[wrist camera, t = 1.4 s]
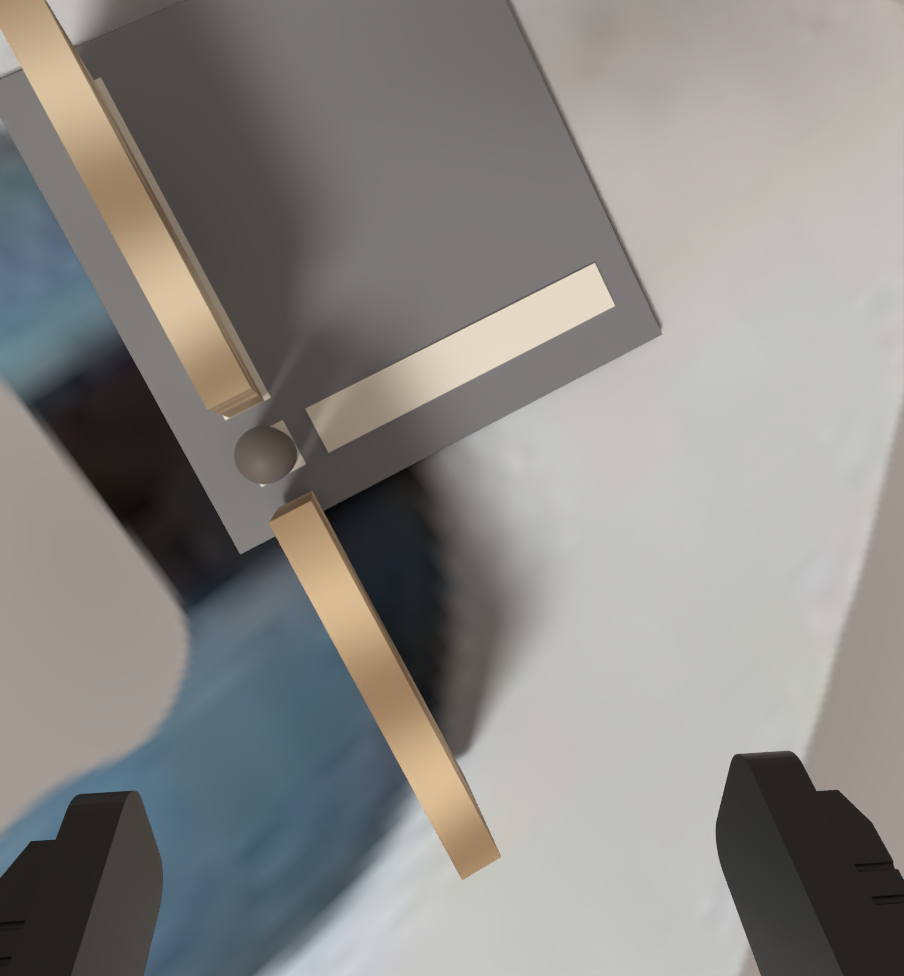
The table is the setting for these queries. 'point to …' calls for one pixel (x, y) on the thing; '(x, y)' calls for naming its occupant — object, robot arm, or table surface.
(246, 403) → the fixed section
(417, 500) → the table surface
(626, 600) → the table surface
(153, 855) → the robot arm
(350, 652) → the folding section
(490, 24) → the card
